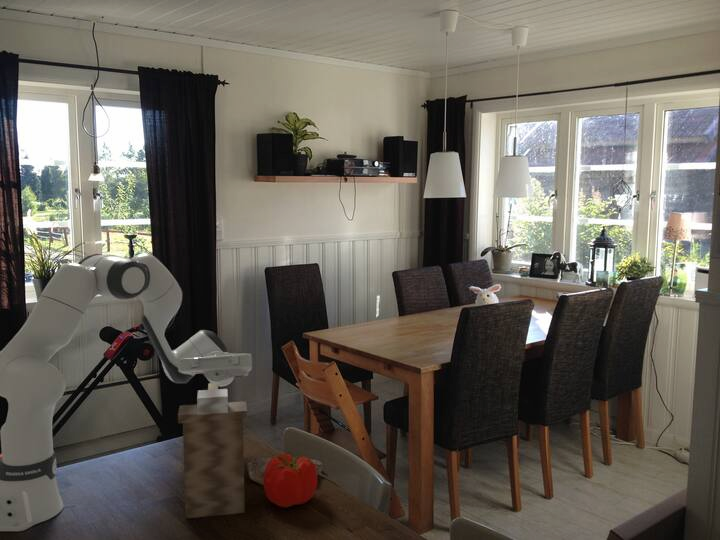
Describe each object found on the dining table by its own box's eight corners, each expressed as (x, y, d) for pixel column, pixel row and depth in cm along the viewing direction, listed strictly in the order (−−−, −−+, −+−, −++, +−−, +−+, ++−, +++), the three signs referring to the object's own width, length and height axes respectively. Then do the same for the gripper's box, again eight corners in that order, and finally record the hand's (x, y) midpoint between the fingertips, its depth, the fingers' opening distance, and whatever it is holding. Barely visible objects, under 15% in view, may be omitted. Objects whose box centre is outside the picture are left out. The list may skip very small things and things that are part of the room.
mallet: (197, 414, 155) (197, 398, 155) (199, 394, 170) (199, 379, 170) (227, 412, 157) (227, 396, 156) (227, 392, 172) (226, 377, 171)
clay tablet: (238, 485, 177) (310, 492, 173) (237, 468, 176) (309, 474, 172) (257, 465, 191) (324, 470, 186) (256, 449, 190) (323, 454, 186)
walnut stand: (181, 519, 158) (177, 415, 155) (182, 506, 165) (179, 405, 162) (248, 513, 161) (247, 410, 158) (247, 500, 168) (246, 401, 165)
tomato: (253, 506, 165) (252, 461, 163) (287, 484, 177) (287, 442, 175) (297, 520, 158) (296, 473, 157) (329, 496, 170) (329, 453, 169)
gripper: (180, 358, 191) (173, 350, 178) (252, 353, 194) (250, 345, 181) (181, 380, 189) (173, 374, 176) (253, 375, 192) (251, 368, 179)
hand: (213, 359), depth 178 cm, fingers open, 8 cm apart
